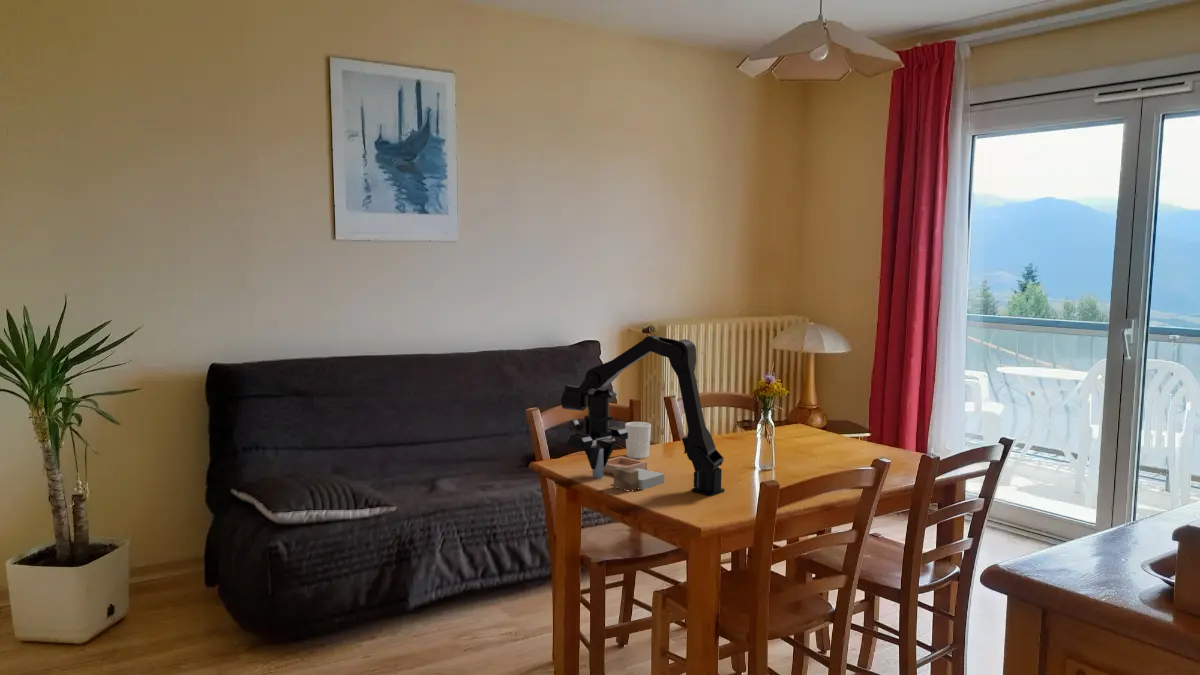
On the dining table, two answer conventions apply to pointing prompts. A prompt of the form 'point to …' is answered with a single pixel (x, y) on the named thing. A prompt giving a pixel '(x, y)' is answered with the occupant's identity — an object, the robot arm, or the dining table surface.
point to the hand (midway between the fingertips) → (598, 467)
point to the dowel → (599, 465)
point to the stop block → (626, 478)
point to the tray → (623, 464)
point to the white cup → (638, 439)
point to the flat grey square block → (649, 478)
